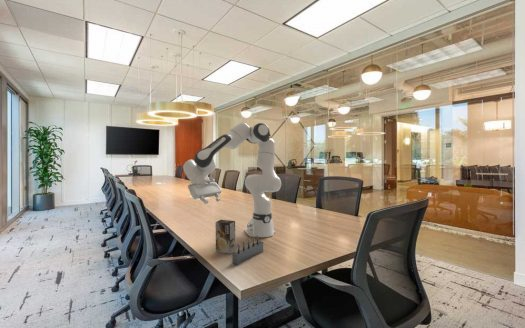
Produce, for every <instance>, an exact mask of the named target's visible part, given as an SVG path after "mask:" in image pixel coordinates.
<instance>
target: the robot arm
mask: <svg viewBox="0 0 525 328" xmlns="http://www.w3.org/2000/svg"><path fill="white" fill-rule="evenodd" d="M270 132H271V131H270V128H269V126H268V125H267V124H266V123H265V122H258V123H256V124H255V125H254V124H253V125H252V126H249V124H247V123H246V122H239V123H238V124H236V125H234V126H233V127H232V128H231V129H230V130H229V131H227V132H226V133H225V134H222V135H220V136H219V137H218V138H216V139H215V140H214V141H212V142H211V143H210V144H208V146H206V147H204V148H201V149H199V150H198V151H197V152H196V153H195V154H194V157H193V159H187V161H185V162H184V164H183V166H182V168H183V172H184V174H185V176H186V177H187V179H188V180H189V181H190V183H189V184H188V185H187V188H188V191H189V194H190V195H191V198H192V199H193V200H200V201H201V202H203V204H205V205H206V204H209V200H208V199H206V198H210V197H214V198H215V201H216V202H220V201H221V198H220V194H222V188H221V187H220V186H219V185H218V183H217V182H215V180H216V179H214V178H213V177H208V175H211V174H212V173H214V172H215V170H216V162H215V160H214V157H215V155H216V154H218V153H219V152H220V151H221V150H222V149H224V148H228V149H230V150H235V149H237V148H238V147H239V146H241V145H242V144H243V143H244V142H245V141H247V142H248V143H250V144H257V145H258V146H257V147H258V151H257V159H256V165H257V166H258V168H259V169H260V170H261V171H262V174H255V173H253V174H249V175H247V176H246V178H244V179H245V180H244V185H245V188H246V189H247V190H248V191H249V193H250V195H251V196H252V199H253V212H252V218H251V219H250V220H249V221H248V222H247V226H246V227H245V228H244V229H243V231H244V233H246V234H247V235H248V236H249V237H252V238H253V237H254V238H257V235H259V238H269V237H271V236H272V237H273V236H274V234H275V233H276V230H274V229H275V228H274V220H273V214H272V201H271V199H270V198H269V197H268V196H267V195H266V194H265V193H275V192H279V191H280V189H281V188H282V179H281V178H280V177H279V176H278V175H277V173H276V171H275V156H276V155H275V154H276V142H275V140H274V139H273V138H271V136H272V135H271V133H270Z"/></svg>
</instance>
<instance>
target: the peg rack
mask: <svg viewBox="0 0 525 328" xmlns="http://www.w3.org/2000/svg"><path fill="white" fill-rule="evenodd" d="M250 240H251V241H252V244H251V243H250V242H251V241H250ZM263 252H264V241H260V237H259V235H257V237H256V242H255V237H252V239H250V238H249V239H247V246H246V241H243V242H242V248H241V244H240V243H237V251H234V252H232V253H231V254H232V255H231V260H232V261H231V263H232V265H234V266H239V265H241V264H243V263H245V262H246V261H249V260H250V259H252V258H254V257H256V256H257V255H259V254H261V253H263Z"/></svg>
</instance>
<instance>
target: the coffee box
mask: <svg viewBox="0 0 525 328" xmlns="http://www.w3.org/2000/svg"><path fill="white" fill-rule="evenodd" d="M215 252H216V253H222V254H229V255H231V254H233V253H235V252H236V221H235V220H229V219H219V220H217V221H216V222H215Z"/></svg>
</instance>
